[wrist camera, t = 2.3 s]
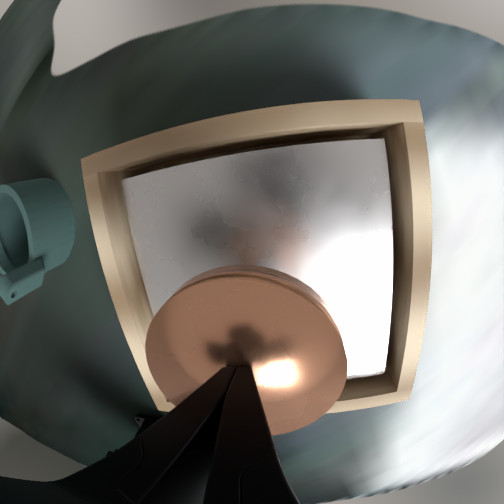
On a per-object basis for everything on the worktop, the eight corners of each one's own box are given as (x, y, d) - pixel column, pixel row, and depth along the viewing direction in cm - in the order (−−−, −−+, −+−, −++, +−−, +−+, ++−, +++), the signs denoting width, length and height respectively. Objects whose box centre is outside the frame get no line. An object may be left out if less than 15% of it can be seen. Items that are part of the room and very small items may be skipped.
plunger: (380, 363, 15) (411, 458, 8) (183, 374, 17) (139, 459, 10) (377, 140, 12) (460, 118, 5) (131, 178, 14) (25, 196, 7)
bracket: (17, 185, 20) (-52, 202, 12) (73, 169, 19) (-15, 182, 10) (31, 270, 23) (-30, 304, 14) (88, 274, 21) (15, 322, 13)
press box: (385, 343, 19) (409, 399, 13) (187, 357, 22) (158, 410, 16) (377, 121, 15) (418, 100, 9) (139, 158, 18) (80, 159, 12)
